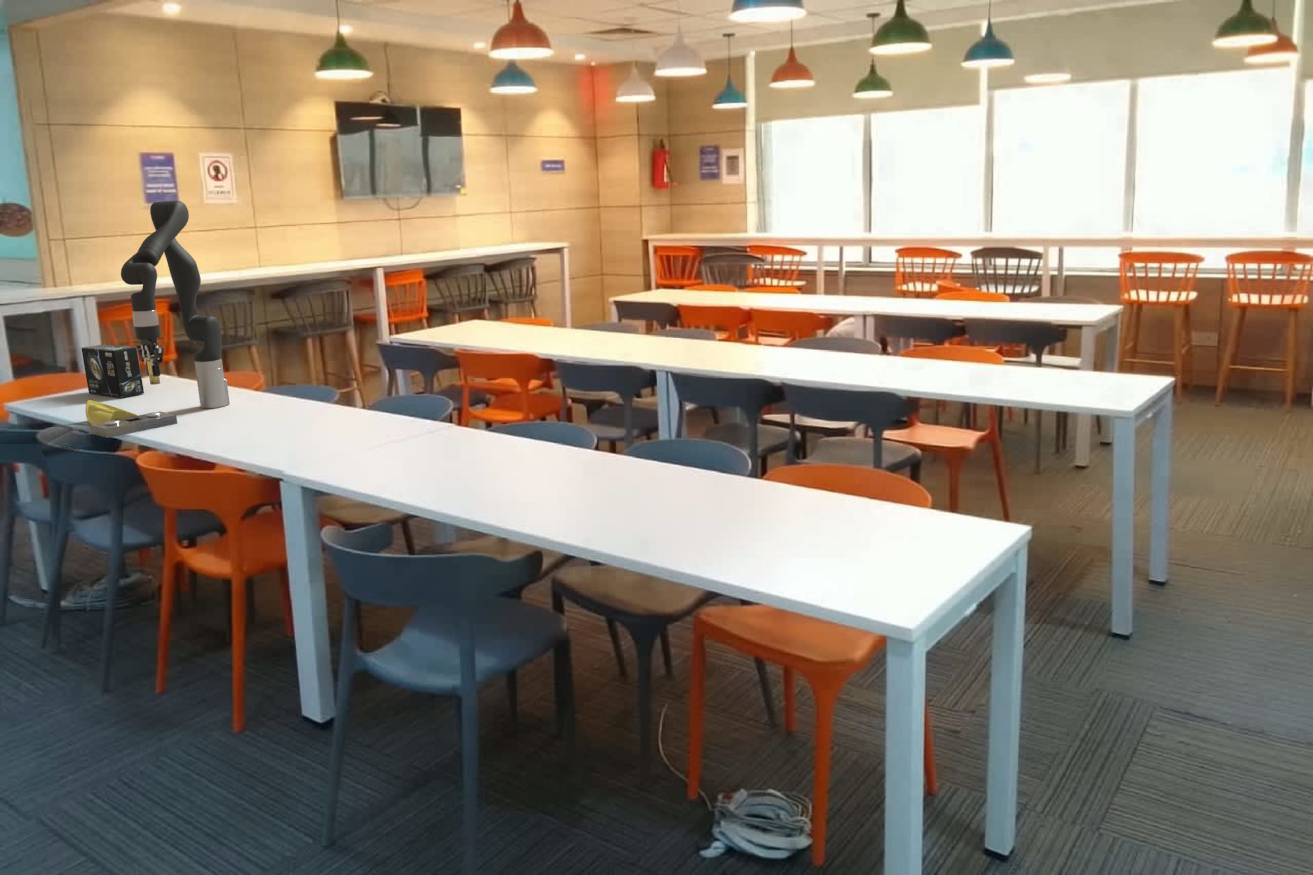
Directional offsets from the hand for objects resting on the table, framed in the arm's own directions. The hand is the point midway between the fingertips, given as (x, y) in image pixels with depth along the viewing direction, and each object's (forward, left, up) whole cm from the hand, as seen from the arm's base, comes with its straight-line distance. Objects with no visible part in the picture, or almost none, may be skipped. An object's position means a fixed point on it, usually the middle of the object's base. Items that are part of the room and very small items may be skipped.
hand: (153, 375), depth 350 cm
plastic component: (+5, -25, -19) cm, 32 cm away
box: (-22, -77, -18) cm, 82 cm away
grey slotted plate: (+5, -8, -18) cm, 20 cm away
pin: (0, 0, -3) cm, 3 cm away
